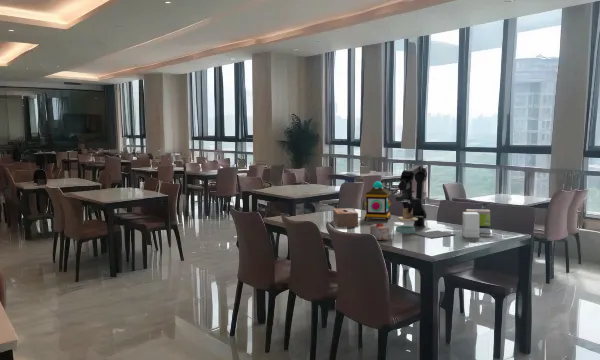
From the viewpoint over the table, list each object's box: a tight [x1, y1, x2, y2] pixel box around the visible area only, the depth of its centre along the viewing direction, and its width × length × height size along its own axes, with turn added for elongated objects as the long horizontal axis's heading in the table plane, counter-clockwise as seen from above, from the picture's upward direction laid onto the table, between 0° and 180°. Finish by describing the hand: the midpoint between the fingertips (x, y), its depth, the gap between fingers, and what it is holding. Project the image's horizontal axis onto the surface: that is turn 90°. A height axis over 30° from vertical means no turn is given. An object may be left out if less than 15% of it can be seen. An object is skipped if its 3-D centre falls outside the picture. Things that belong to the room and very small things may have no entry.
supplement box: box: [462, 211, 480, 239], centre depth 304 cm, size 9×9×15 cm
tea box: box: [465, 208, 491, 235], centre depth 317 cm, size 15×10×15 cm
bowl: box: [395, 225, 416, 234], centre depth 323 cm, size 12×12×3 cm
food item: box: [369, 223, 390, 241], centre depth 300 cm, size 14×8×10 cm, turn 23°
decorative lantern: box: [364, 180, 392, 223], centre depth 370 cm, size 20×20×30 cm
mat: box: [413, 230, 456, 239], centre depth 311 cm, size 20×16×1 cm
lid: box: [397, 207, 418, 222], centre depth 321 cm, size 13×13×7 cm
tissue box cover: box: [332, 207, 359, 228], centre depth 355 cm, size 26×14×10 cm, turn 4°
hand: (407, 212), depth 321 cm, fingers closed on lid, 3 cm apart
